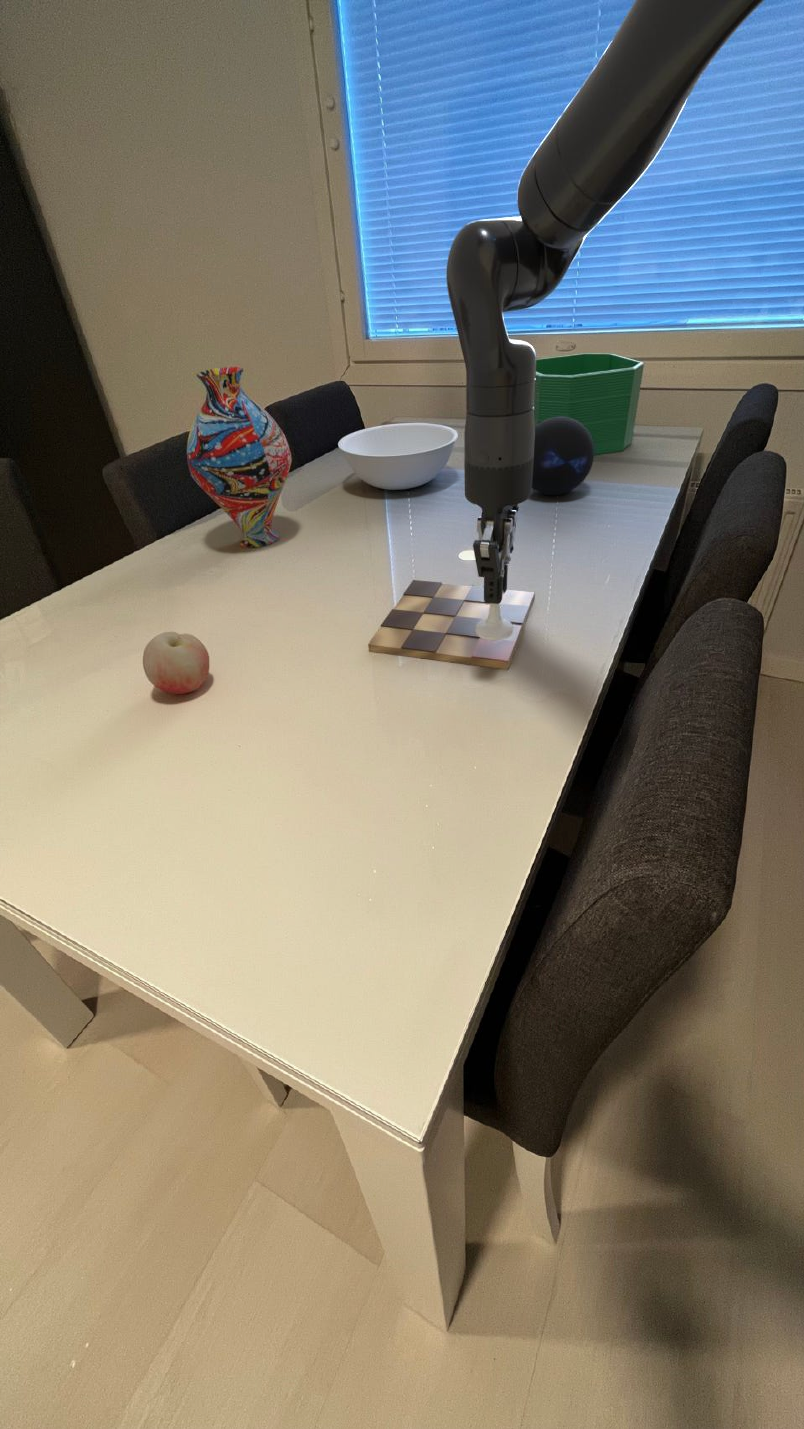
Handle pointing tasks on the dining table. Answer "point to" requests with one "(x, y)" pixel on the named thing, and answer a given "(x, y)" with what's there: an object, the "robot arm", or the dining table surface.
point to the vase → (238, 455)
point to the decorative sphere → (561, 455)
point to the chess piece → (494, 625)
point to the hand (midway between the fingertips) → (495, 596)
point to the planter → (591, 395)
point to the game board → (450, 625)
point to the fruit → (176, 662)
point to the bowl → (399, 453)
